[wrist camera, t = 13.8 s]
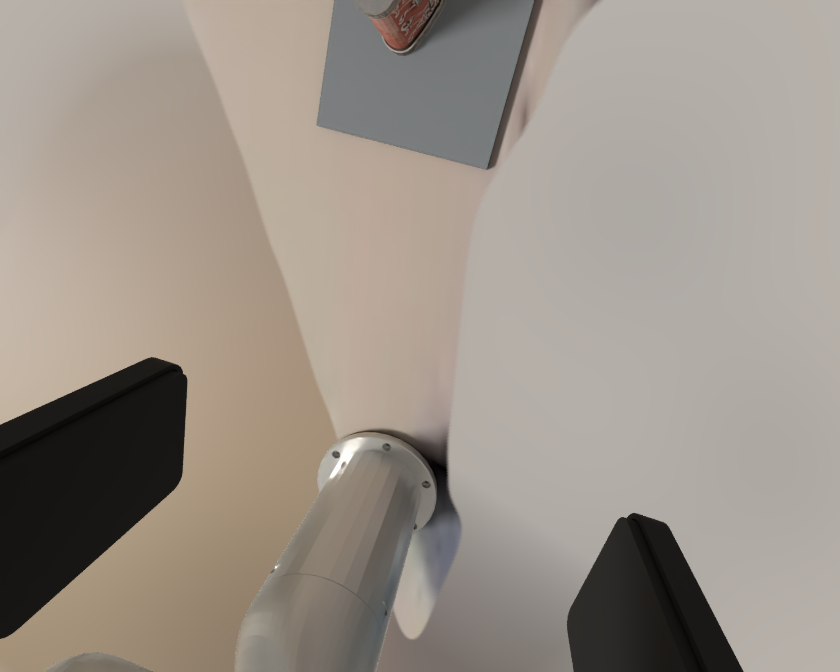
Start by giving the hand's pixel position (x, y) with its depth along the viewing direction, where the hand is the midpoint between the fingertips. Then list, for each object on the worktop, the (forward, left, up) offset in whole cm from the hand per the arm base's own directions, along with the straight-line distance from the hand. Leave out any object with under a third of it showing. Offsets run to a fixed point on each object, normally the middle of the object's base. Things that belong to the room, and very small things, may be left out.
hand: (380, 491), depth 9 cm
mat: (+18, +8, -28) cm, 34 cm away
